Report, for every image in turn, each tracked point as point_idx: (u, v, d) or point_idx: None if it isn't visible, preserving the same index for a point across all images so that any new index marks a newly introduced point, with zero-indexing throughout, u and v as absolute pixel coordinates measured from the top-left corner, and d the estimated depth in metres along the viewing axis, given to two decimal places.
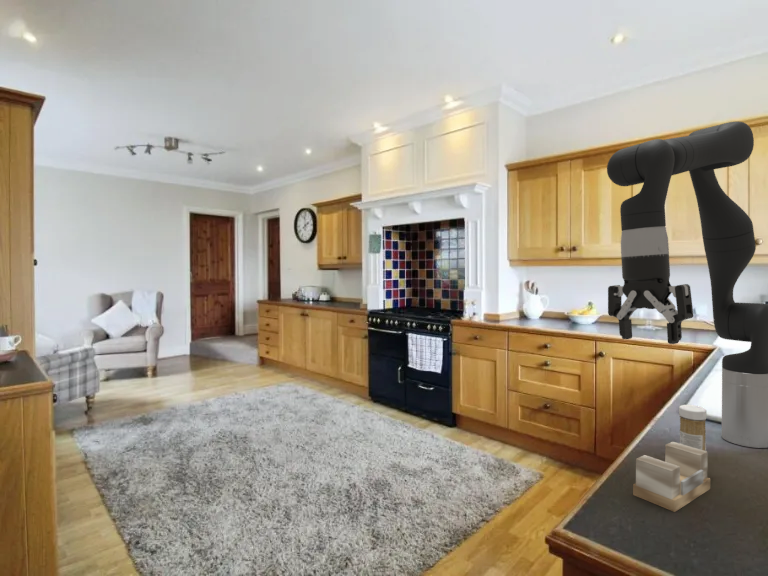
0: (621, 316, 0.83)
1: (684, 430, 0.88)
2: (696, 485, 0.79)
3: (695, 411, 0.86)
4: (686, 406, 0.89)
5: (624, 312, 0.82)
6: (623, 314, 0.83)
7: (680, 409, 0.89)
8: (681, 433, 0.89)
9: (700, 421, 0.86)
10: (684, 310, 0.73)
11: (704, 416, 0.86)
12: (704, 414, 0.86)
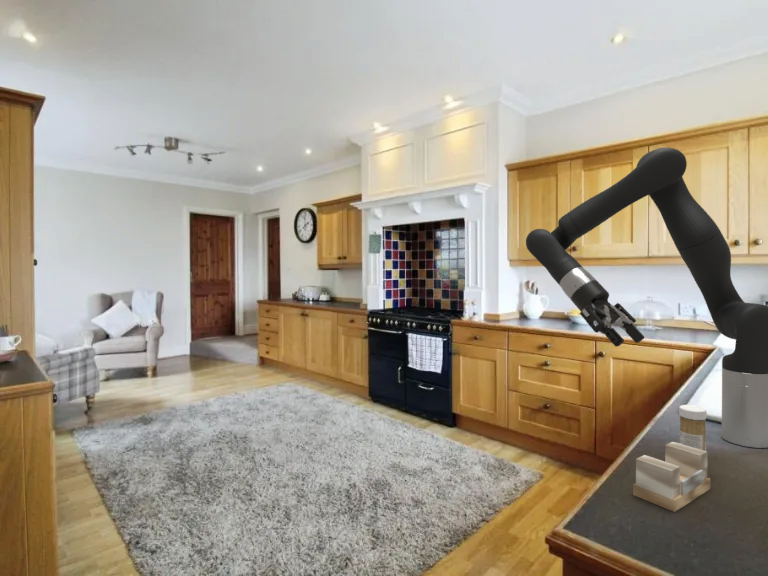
0: None
1: (684, 430, 0.88)
2: (696, 485, 0.79)
3: (695, 411, 0.86)
4: (686, 406, 0.89)
5: None
6: None
7: (680, 409, 0.89)
8: (681, 433, 0.89)
9: (700, 421, 0.86)
10: None
11: (704, 416, 0.86)
12: (704, 414, 0.86)
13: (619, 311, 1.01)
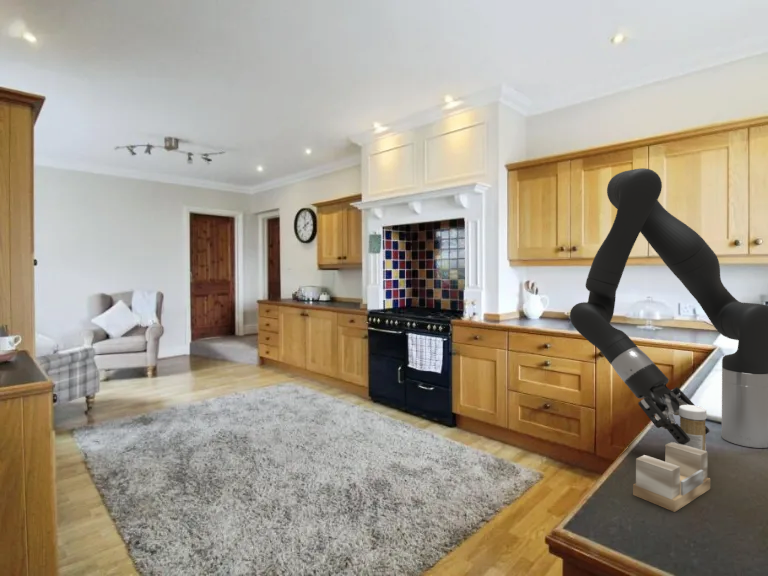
0: None
1: (684, 430, 0.88)
2: (696, 485, 0.79)
3: (695, 411, 0.86)
4: (686, 406, 0.89)
5: None
6: None
7: (680, 409, 0.89)
8: None
9: (700, 421, 0.86)
10: None
11: (704, 416, 0.86)
12: (704, 414, 0.86)
13: (680, 400, 0.93)
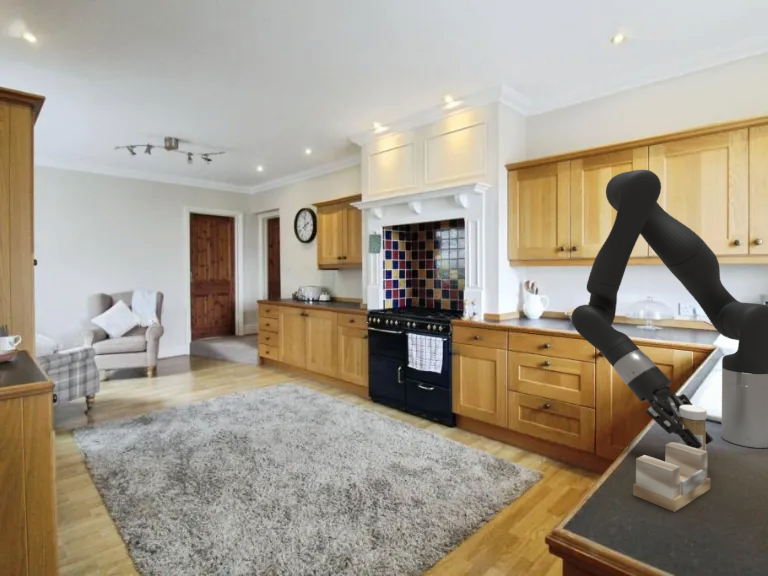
0: None
1: None
2: (696, 485, 0.79)
3: (695, 411, 0.86)
4: (686, 406, 0.89)
5: None
6: None
7: (680, 409, 0.89)
8: None
9: (700, 421, 0.86)
10: None
11: (704, 416, 0.86)
12: (704, 414, 0.86)
13: (684, 404, 0.91)
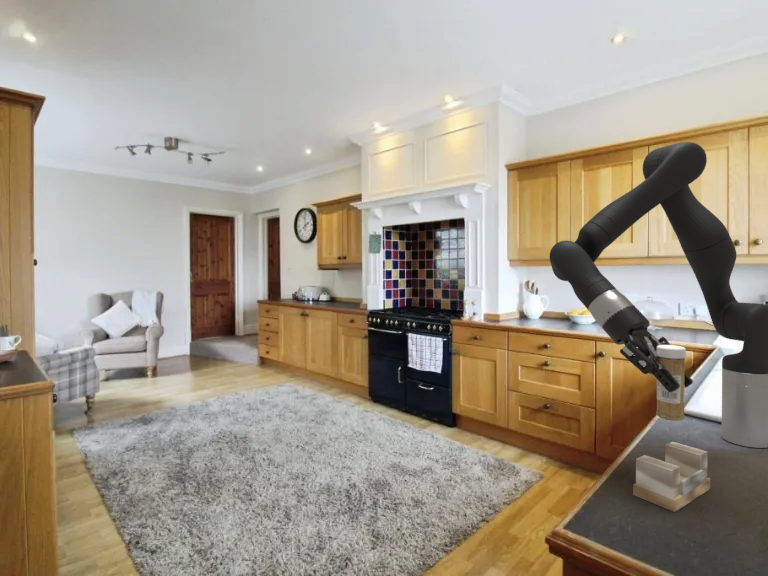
0: None
1: None
2: (696, 485, 0.79)
3: (673, 349, 0.78)
4: (664, 345, 0.81)
5: None
6: None
7: (657, 348, 0.81)
8: None
9: (678, 360, 0.78)
10: None
11: (683, 354, 0.78)
12: (683, 352, 0.78)
13: None
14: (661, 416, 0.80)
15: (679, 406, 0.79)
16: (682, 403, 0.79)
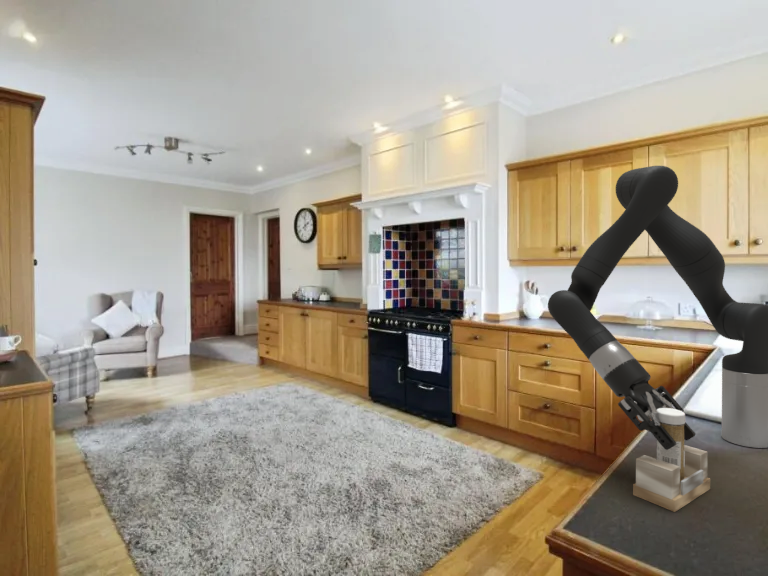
0: None
1: None
2: (696, 485, 0.79)
3: (673, 415, 0.78)
4: (663, 409, 0.81)
5: None
6: None
7: (657, 413, 0.81)
8: None
9: (678, 426, 0.78)
10: None
11: (683, 420, 0.78)
12: (683, 418, 0.78)
13: (663, 399, 0.84)
14: None
15: (680, 472, 0.79)
16: (682, 469, 0.79)
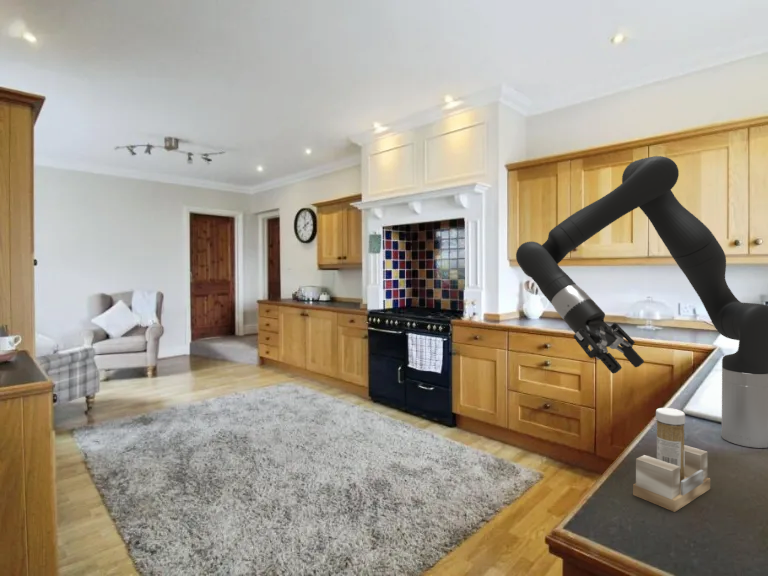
0: None
1: (661, 435, 0.80)
2: (696, 485, 0.79)
3: (673, 415, 0.78)
4: (663, 409, 0.81)
5: None
6: None
7: (657, 413, 0.81)
8: (658, 439, 0.81)
9: (678, 426, 0.78)
10: (585, 351, 0.89)
11: (682, 420, 0.78)
12: (682, 418, 0.78)
13: (616, 333, 0.93)
14: None
15: None
16: (682, 468, 0.79)
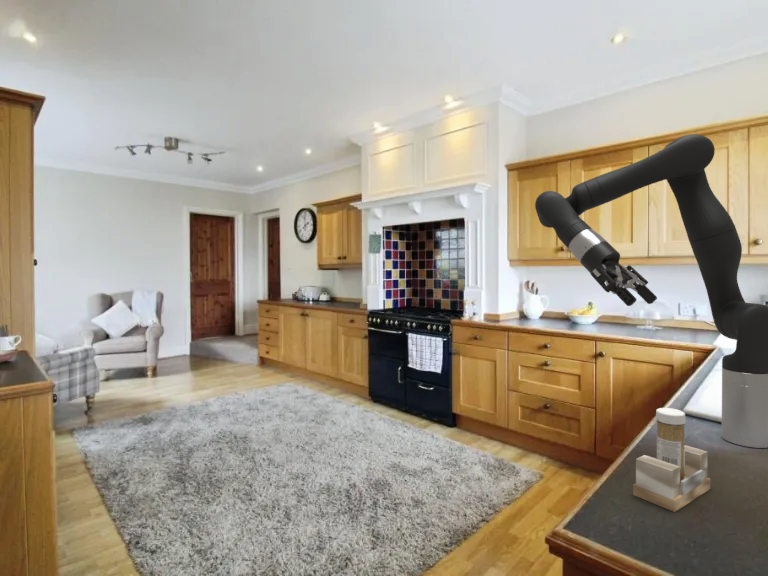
0: None
1: (661, 435, 0.80)
2: (696, 485, 0.79)
3: (673, 415, 0.78)
4: (664, 409, 0.81)
5: None
6: None
7: (657, 413, 0.81)
8: (658, 439, 0.81)
9: (678, 426, 0.78)
10: (601, 286, 0.94)
11: (683, 420, 0.78)
12: (683, 418, 0.78)
13: (631, 272, 0.98)
14: None
15: (680, 472, 0.79)
16: (682, 469, 0.79)
